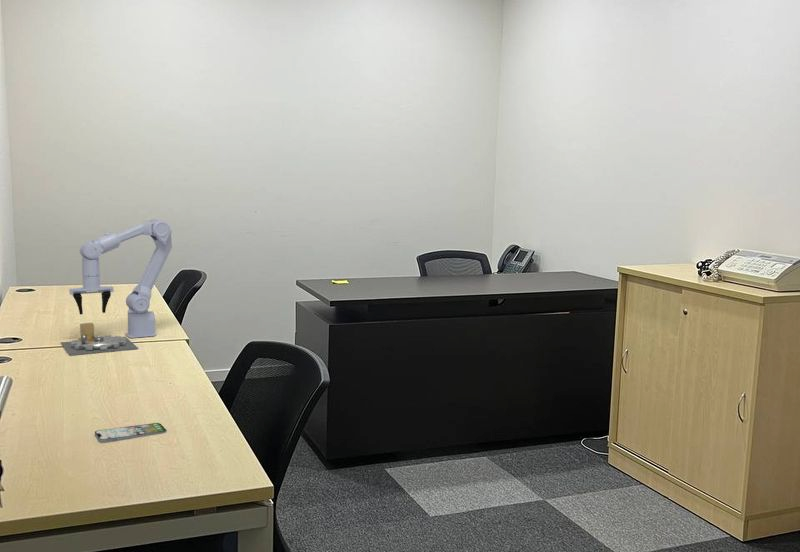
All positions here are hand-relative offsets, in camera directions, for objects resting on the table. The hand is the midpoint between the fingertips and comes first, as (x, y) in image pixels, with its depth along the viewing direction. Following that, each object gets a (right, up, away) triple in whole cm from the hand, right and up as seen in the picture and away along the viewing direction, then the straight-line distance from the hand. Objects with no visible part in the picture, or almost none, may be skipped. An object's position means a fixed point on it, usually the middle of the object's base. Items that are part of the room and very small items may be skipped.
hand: (92, 313), depth 275 cm
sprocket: (+6, -11, -8) cm, 15 cm away
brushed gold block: (+1, -9, -6) cm, 10 cm away
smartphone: (+48, -24, -96) cm, 110 cm away
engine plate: (+6, -11, -8) cm, 15 cm away
